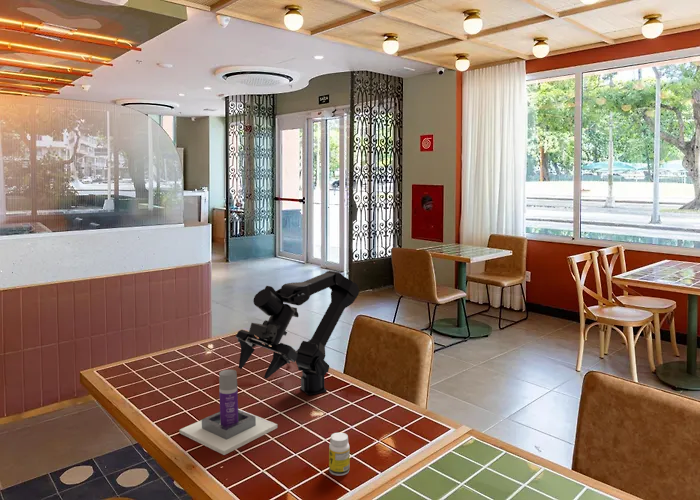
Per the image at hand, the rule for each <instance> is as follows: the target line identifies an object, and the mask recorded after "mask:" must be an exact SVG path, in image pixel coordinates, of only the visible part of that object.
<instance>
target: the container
mask: <svg viewBox="0 0 700 500" xmlns="http://www.w3.org/2000/svg"><path fill="white" fill-rule="evenodd" d="M218 373H219V377H218V382H219V383H218V385H219V386H218V387H219V388H218V389H219V394H218V395H219V412H220V425H223V426H225V427H229V426H231V425H233V424H235V423H237V422H238V409H239V399H238V398H239V397H238V396H239V395H238V394H239V391H238V374H237V373H238V372H237V371H236V370H235V369H223V370H221V371H220V372H218Z"/></svg>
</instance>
